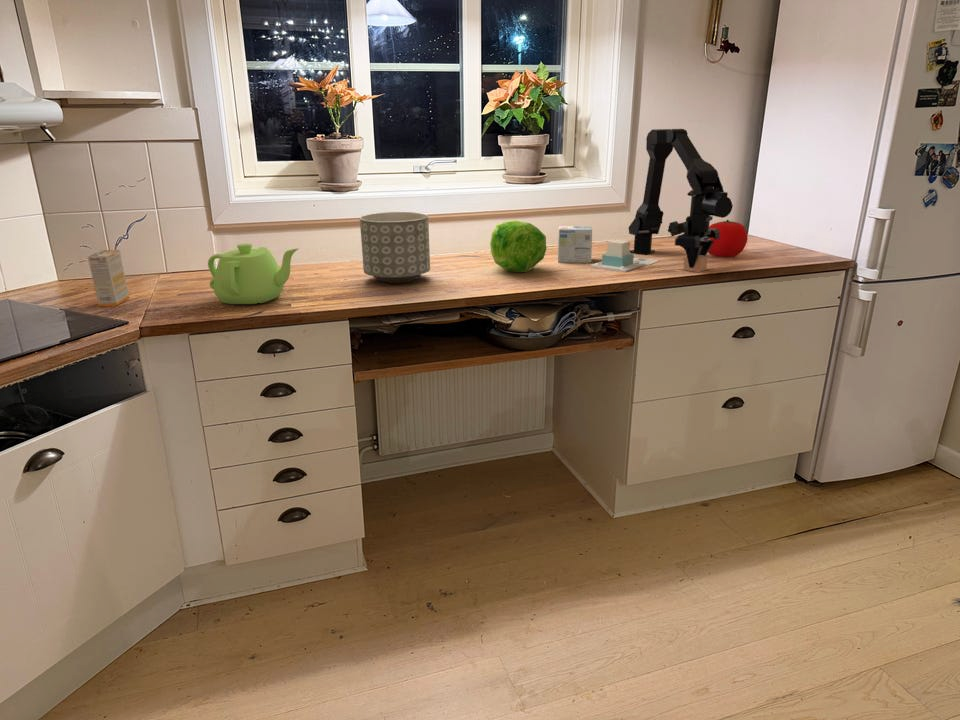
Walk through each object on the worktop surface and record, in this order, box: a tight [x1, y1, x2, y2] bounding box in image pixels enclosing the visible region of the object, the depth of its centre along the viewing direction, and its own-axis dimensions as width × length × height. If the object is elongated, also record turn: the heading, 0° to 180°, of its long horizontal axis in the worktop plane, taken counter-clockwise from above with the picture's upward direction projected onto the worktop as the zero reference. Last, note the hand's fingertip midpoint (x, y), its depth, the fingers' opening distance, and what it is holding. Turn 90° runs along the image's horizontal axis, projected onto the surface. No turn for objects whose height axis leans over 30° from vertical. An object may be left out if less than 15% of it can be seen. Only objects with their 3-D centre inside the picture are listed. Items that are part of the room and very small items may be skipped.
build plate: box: [589, 253, 645, 273], centre depth 209 cm, size 12×12×4 cm
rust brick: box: [682, 255, 709, 273], centre depth 202 cm, size 5×5×4 cm
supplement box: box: [87, 249, 130, 307], centre depth 174 cm, size 8×5×13 cm, turn 5°
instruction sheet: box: [633, 257, 660, 266], centre depth 216 cm, size 7×10×1 cm
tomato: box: [707, 219, 748, 258], centre depth 220 cm, size 13×14×12 cm
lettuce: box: [490, 220, 548, 273], centre depth 204 cm, size 17×20×15 cm
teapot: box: [207, 243, 300, 305], centre depth 176 cm, size 19×20×14 cm
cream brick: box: [606, 239, 631, 257], centre depth 207 cm, size 5×5×4 cm
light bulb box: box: [557, 225, 593, 264], centre depth 216 cm, size 11×7×11 cm, turn 84°
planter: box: [359, 211, 431, 284], centre depth 193 cm, size 19×19×18 cm
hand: (695, 266), depth 203 cm, fingers closed on rust brick, 5 cm apart
